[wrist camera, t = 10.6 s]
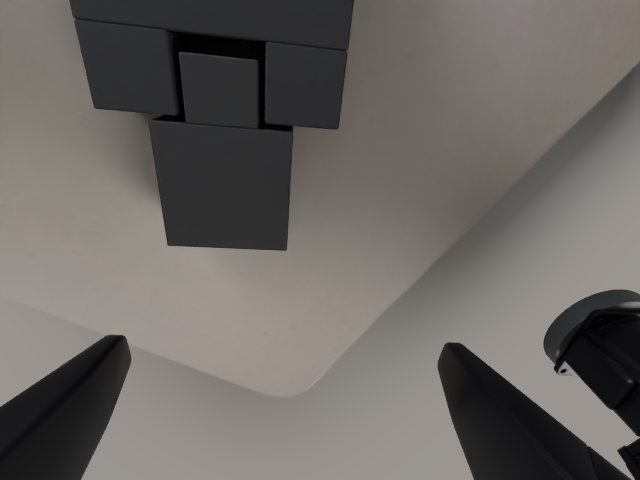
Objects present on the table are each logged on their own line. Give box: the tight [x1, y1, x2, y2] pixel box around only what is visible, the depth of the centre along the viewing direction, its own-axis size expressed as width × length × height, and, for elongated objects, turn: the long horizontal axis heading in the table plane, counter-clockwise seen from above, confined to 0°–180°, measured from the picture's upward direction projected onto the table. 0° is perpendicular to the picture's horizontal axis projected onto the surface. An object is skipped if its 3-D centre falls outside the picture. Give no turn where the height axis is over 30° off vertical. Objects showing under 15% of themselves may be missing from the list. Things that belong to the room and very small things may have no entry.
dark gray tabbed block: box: [148, 52, 293, 251], centre depth 15 cm, size 6×9×3 cm
